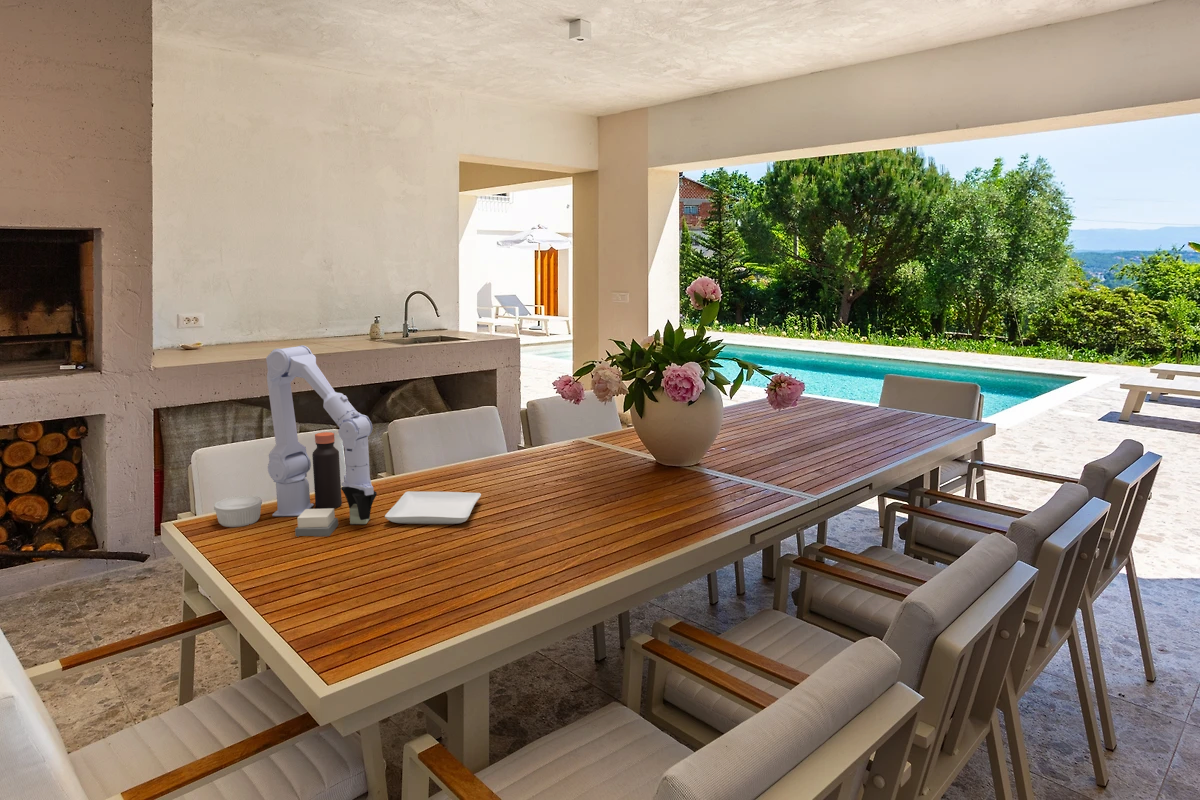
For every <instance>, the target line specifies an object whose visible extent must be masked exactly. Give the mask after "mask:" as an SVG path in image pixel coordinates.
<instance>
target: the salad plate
mask: <svg viewBox="0 0 1200 800" xmlns="http://www.w3.org/2000/svg"><path fill="white" fill-rule="evenodd" d="M481 496H482V493H480V492H467V491H466V492H462V491H411V490H410V491H409V490H408V491H405V492H404V493H403V495H402V496H400V498H399V499H398V500H397V501H396V503H395V504H394V505H393V506H392V507H391V508H390V509H389V510H388V511H387V513H385V515H384V518H385V519H386V520H388V521H389V522H392V523H396V524H407V525H408V524H409V525H455V524H456V525H458V524H462V523H465V522H466V521H467V520H468V519H469V517H470V515H471V513H472V510H473V509H474V507H475V505H476V504H477V502H478V501H479V500H480V498H481Z"/></svg>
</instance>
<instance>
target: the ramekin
mask: <svg viewBox="0 0 1200 800" xmlns="http://www.w3.org/2000/svg"><path fill="white" fill-rule="evenodd" d="M262 503H263V500H262V498H261V497H260V496H256V495H237V496H229V497H226V498H223V499H220V500H218V501H216V502H215V503H213V510H214V511H215V515H216V517H217V521H218V523H219V525H221V526H223V527H225V528H226V527H227V528H238V527H239V528H240V527H246V526H250V525H253V524H255V523H256V522H258V521H259V519H260V517H261V510H262V509H261V508H262ZM249 524H250V525H249Z"/></svg>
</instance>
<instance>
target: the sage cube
mask: <svg viewBox="0 0 1200 800" xmlns="http://www.w3.org/2000/svg"><path fill="white" fill-rule="evenodd" d="M348 510H349V521H350V522H349V524H350V525H366V524H367V523H369V521H370V520H371V516H370V517H369V519H365V520H360V517H359V513H358V507H357V504H353V505H352V506H351V508H349V509H348Z"/></svg>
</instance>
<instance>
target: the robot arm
mask: <svg viewBox="0 0 1200 800" xmlns="http://www.w3.org/2000/svg"><path fill="white" fill-rule="evenodd" d="M265 361H266V366H267V372H266V373H267V374H266V382H267V384H266V385H267V390H268V397H269V403H270V411H271V418H272V419H271V420H272V425H273V434H274V439H275V440H274V441H275V446H273V448H272V450H271V451H270V452H269V453H268V464H267V472H268V475H269V477H270V478H271V480H273V482H274V483H275V491H276V503H277V504H276V505H277V510H275V511H274V513H272V514H271V515H272V517H299V516H300V515H301V513H302V512H303V511H304V510H305V509H313V507H314V506H315V503H311V494H310V483H309V481H308V479H307V476H308V475H307V474H308V472H310V469H311V466H312V462H311V459H310V457H309V455H308V453H307V452H308V451H307V448H306V446H305V445H303V444H302V443H300V441H299V436H298V430H297V423H296V415H295V409H294V408H295V407H294V401H293V400H294V399H293V392H292V385H291V383H292V382H293V381H294V380H295V378H301V379H304V381H305V382H306V383H307V384H308V385H309V386H310V387H311V388H312V389H313V391H315V393H317V395H319V397H320V398H321V399H322V400H323V404H322V405H323V409H324V410H325V411H326V413H328V416H330V418H331V419H332V420H333V422H335V424H336V425H337V426H338V427H339V429H337V433H338V435H339V437H340V439H341V441H342V446H343V448H344V463H345V475H343V482H341V492H342V493H343V494H344V497H345V499H346V501H347V505H348V508H349V509H350V508H351V506H352V505H353V504H357V507H358V513H359V517H360V520H365V519H369V517H370V518H371V511H372V507H373V503H374V500H375V499H376V497H377V495H378V493H377V491H375V490H374V486H373V485H372V480H371V475H370V474H371V472H370V455H369V453H370V451H369V450H370V449H369V436H370V435H371V434H372V432H373V424H372V423H373V422H372V421H371V420H370V418H369V416H368V415H365V414H362V413H361V412H358V411H357V410H356V408H355V407H354V406H353V405H352V403H350V401H349V398H348V397H347V395H344V393H342V392H337V391H335V389H334V388H333V386H332V385H331V384H330V382H329V380H328V379H327V378H326V376H325V375H324V373H323V371H322V370H321V369H320V368H319V365H318V364H317V357H316V355H314V354H313V353H312V350H311V349H310V348H309V347H308V346H306V345H298V346H291V347H284V348H274V349H273V350H272V351H270V353H269V354H268V355H267V356H266V358H265Z"/></svg>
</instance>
